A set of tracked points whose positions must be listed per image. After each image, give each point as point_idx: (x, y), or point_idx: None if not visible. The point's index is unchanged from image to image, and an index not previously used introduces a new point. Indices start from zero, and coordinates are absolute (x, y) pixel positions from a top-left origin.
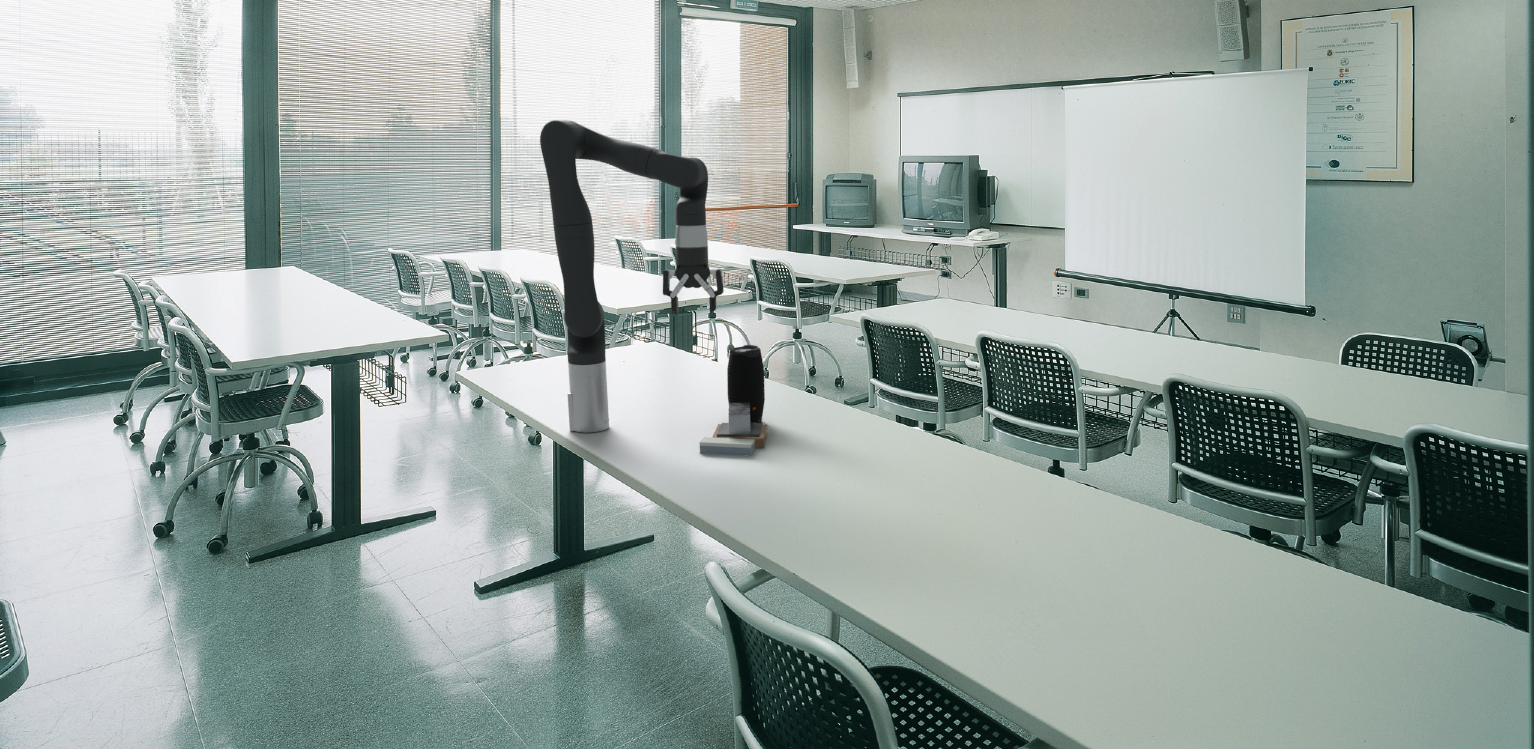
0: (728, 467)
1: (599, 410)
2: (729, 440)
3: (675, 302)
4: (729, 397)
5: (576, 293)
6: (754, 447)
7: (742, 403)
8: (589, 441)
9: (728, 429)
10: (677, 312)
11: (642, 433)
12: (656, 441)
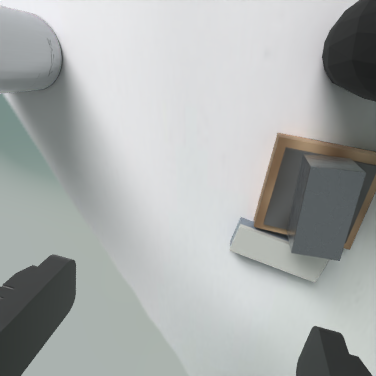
0: (266, 308)
1: (25, 84)
2: (282, 254)
3: (14, 369)
4: (330, 65)
5: None
6: None
7: (344, 176)
8: (51, 142)
9: (291, 199)
10: (72, 292)
11: (130, 106)
12: (159, 163)
